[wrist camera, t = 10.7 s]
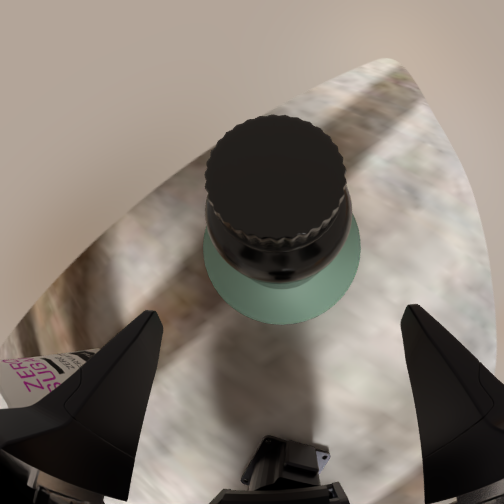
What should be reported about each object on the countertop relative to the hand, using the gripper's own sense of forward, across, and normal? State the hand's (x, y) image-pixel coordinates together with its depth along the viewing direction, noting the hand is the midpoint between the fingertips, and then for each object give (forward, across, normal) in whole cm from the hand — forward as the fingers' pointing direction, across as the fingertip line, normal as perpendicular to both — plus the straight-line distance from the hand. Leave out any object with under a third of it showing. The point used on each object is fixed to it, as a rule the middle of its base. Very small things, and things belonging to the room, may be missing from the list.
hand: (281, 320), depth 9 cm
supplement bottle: (+11, 0, +4) cm, 12 cm away
